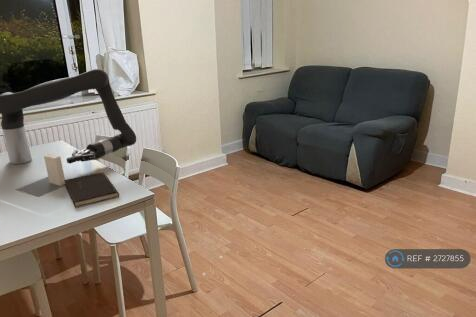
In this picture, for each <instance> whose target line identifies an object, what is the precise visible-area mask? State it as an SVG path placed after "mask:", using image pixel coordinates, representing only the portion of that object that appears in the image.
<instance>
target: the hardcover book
mask: <svg viewBox="0 0 476 317" xmlns="http://www.w3.org/2000/svg"><path fill="white" fill-rule="evenodd" d="M64 181H65V183H66V184H65V186H64V187H66V190H67V192H68V194H69V197H70V198H71V201H72V204H73V206H74V208H79V207H83V206H88V205H91V204H96V203H99V202H104V201H108V200H113V199H116V198H119V197H120V193H119V191H118V189H116V187H115V186H114V184H113V183H112V182H111V180H110V178H108V176H107V174H106V173H105V172H103V171H100V172H97V173H90V174H87V175H83V176H76V177H72V178H67V179H65V180H64Z"/></svg>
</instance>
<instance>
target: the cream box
mask: <svg viewBox="0 0 476 317" xmlns="http://www.w3.org/2000/svg"><path fill="white" fill-rule="evenodd" d="M43 158H44V163H45V168H46V172H47V177H48V178H49V182H50V183H52V184H56V185H59V186H61V185H64V184H66V183H65V181H64V180H66V179H65V178H66V177H65V173H64V169H63V168H64V167H63V164H62V158H61V156H59V155H56V154H51V153H47V154H45V155H43Z"/></svg>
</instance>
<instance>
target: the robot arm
mask: <svg viewBox="0 0 476 317" xmlns="http://www.w3.org/2000/svg"><path fill="white" fill-rule="evenodd" d="M89 90H90V91H91V90H95V91H96V93H98V94H97V95H99V98H100V100H101V102H102V104H103V108H104V110H105V114H106V117H107V119H108V121H109V123H110V125H111V127H112V129H113V130H114V131H118V132H120V133H119V134H116V135H113V136H111V137H107V138H105V139H100V140H97V141H95V142H92V143H89V144H87V146H86V148H83V149H82V150H80V151H78V149H75V150H74V151H72V154H71V156H70V157H67V158H66V163H67V164H74V163H76V162H89V161H95V160H99V159H101V158H104V157H106V156H108V155H110V154H111V153H112V154H113V153H115V152H117V151H119V150H120V149H123V148H126V147H129V146H133V145H135V144H136V143H137V136H136V133H135V132H134V130H133V129H132V127H131V126H130V124H128V123H127V121H126V119H125V117H124V114H123V112H122V110H121V108H120V107H119V104H118V102H117V99H116V97H115V95H114V93H113V90H112V87H111V83H110V79H109V76H108V74H107V73H106V71H104V70H102V69H100V68H93V69H91V70H88V71H86V72H83V73H79V74H77V75H75V76H70V77H64V78H58V79H54V80H49V81H45V82H43V83H39V84H37V85H34V86H32V87H29V88H27V89H25V90H23V91H18V92H11V91H7V92H3V93H0V114H1V122H0V126H1V130H2V133H3V134H2V135H3V138H4V141H5V143H4V144H5V147H6V151H7V156H8V159H9V162H10V164H11V165H21V164H22V165H23V164H25V163H29V162H31V161H32V160H33V159H32V154H31V148H30V145H29V140H28V136H27V132H26V128H25V123H24V120H25V117H24V116H25V115H24V109H26V108H30V107H34V106H39V105H44V104H48V103H54V102H56V101H59V100H61V101H62V100H64V99H65V98H66V99H67V98H69V97H72V96H74V95H75V94H79V93H81V92H84V91H89Z"/></svg>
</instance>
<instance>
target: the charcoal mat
mask: <svg viewBox="0 0 476 317" xmlns="http://www.w3.org/2000/svg"><path fill="white" fill-rule="evenodd" d="M63 187H66V186H65V184H64V185H61V186H59V185H56V184H52V183H50V182H49V178H48V176H46V177H44V178H41V179H38V180H36V181H33V182H31V183H29V184H25V185H23V186H21V187H19V188H16V189H15V190H16V191H18V192H21V193H24V194H27V195H31V196H33V197H38V198H39V197H43V196H44V195H47V194H49V193H52V192H55V191H57V190H58V189H61V188H63Z"/></svg>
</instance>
